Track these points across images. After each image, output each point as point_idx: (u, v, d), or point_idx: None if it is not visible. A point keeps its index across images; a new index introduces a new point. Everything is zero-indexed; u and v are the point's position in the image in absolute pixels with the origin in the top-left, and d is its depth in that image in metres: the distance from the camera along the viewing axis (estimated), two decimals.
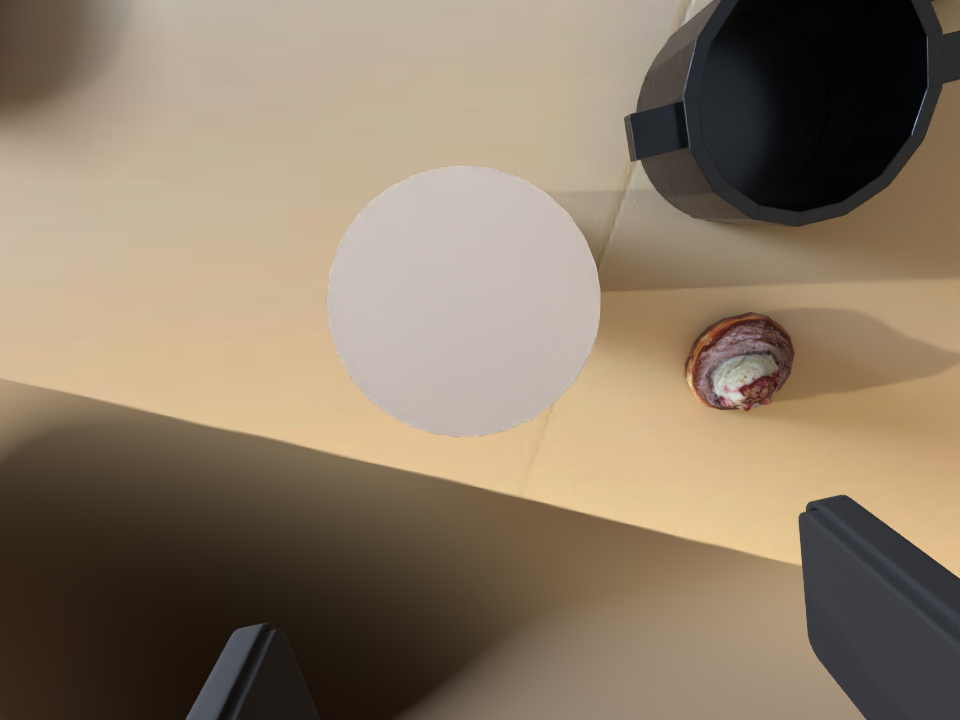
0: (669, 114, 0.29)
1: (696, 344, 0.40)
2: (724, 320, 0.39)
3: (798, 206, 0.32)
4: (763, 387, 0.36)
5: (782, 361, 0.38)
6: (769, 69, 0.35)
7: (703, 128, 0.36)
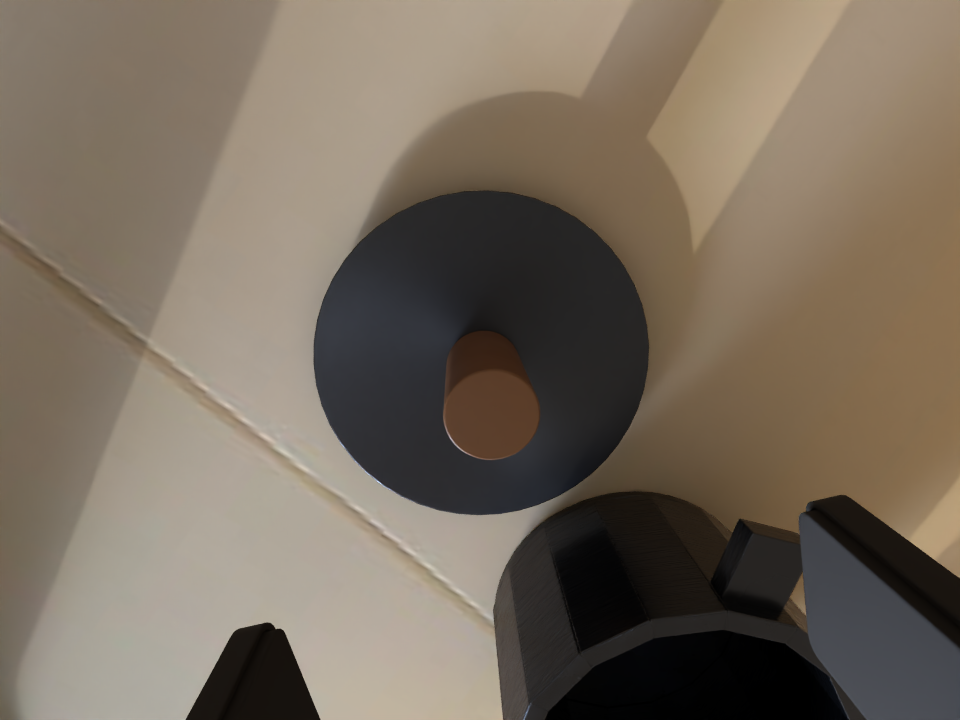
0: None
1: None
2: None
3: None
4: None
5: None
6: None
7: None
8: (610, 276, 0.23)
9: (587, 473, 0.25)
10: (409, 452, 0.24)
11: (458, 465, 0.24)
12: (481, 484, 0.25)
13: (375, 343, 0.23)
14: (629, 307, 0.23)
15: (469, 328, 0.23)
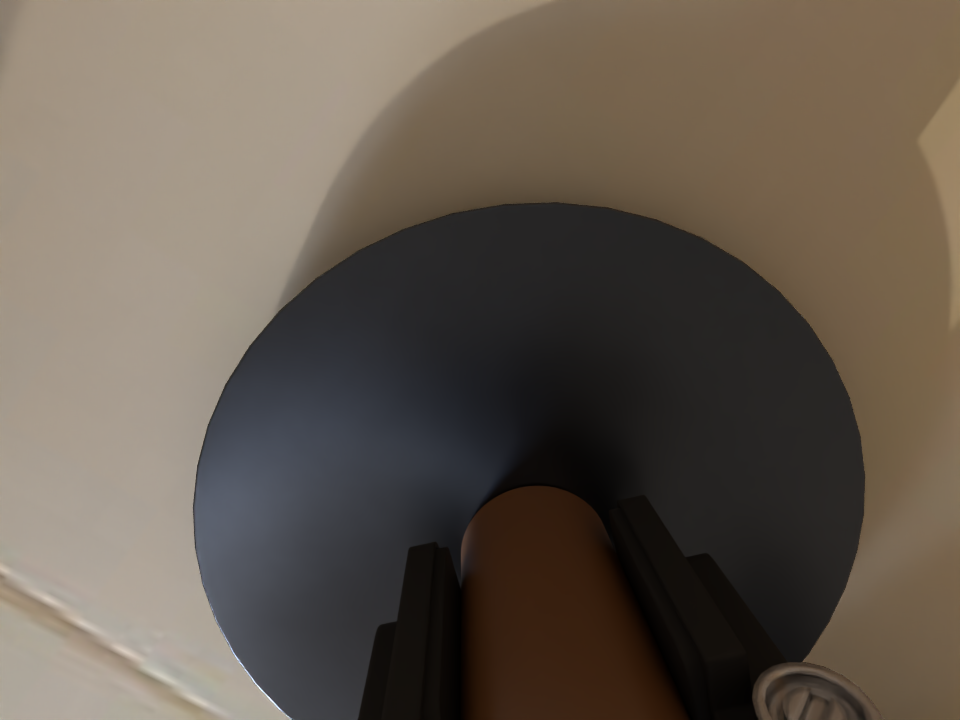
0: None
1: None
2: None
3: None
4: None
5: None
6: None
7: None
8: (803, 381, 0.11)
9: None
10: None
11: None
12: None
13: (318, 509, 0.11)
14: (834, 441, 0.11)
15: (509, 480, 0.11)
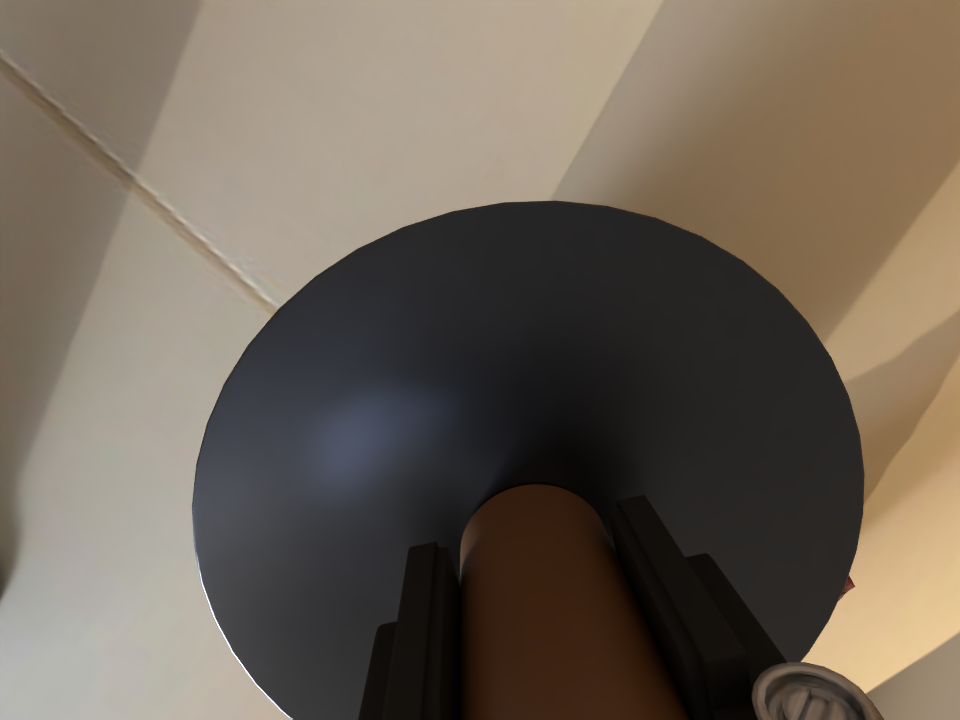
0: None
1: None
2: None
3: None
4: None
5: None
6: None
7: None
8: (802, 379, 0.11)
9: None
10: None
11: None
12: None
13: (317, 507, 0.11)
14: (834, 439, 0.11)
15: (508, 478, 0.11)
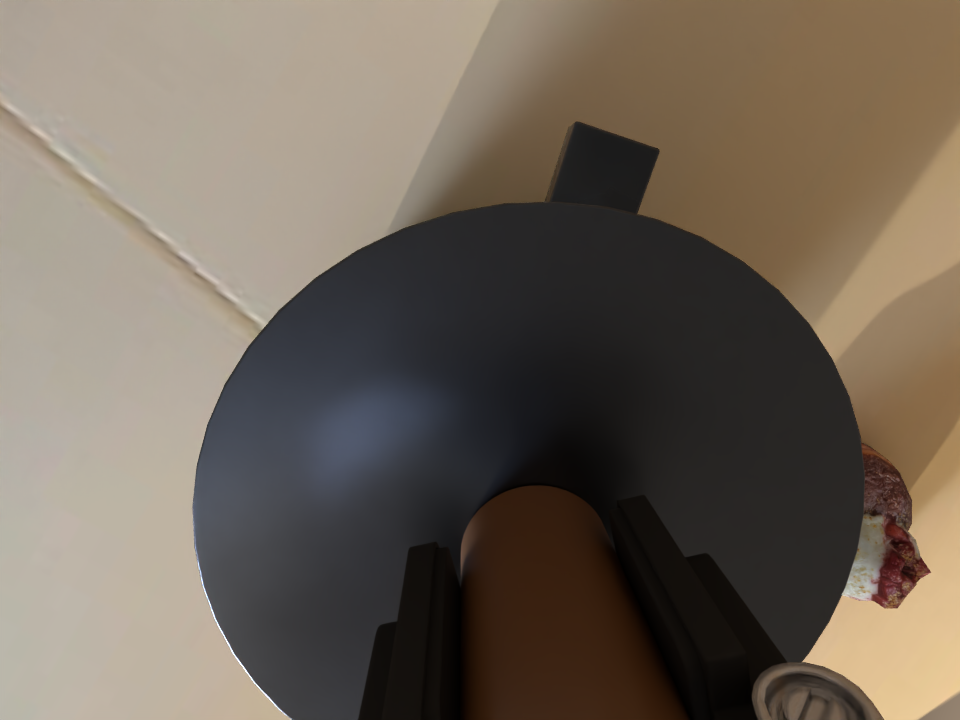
0: None
1: None
2: None
3: None
4: (899, 586, 0.22)
5: (877, 500, 0.23)
6: None
7: None
8: (803, 380, 0.11)
9: None
10: None
11: None
12: None
13: (317, 508, 0.11)
14: (834, 440, 0.11)
15: (509, 479, 0.11)
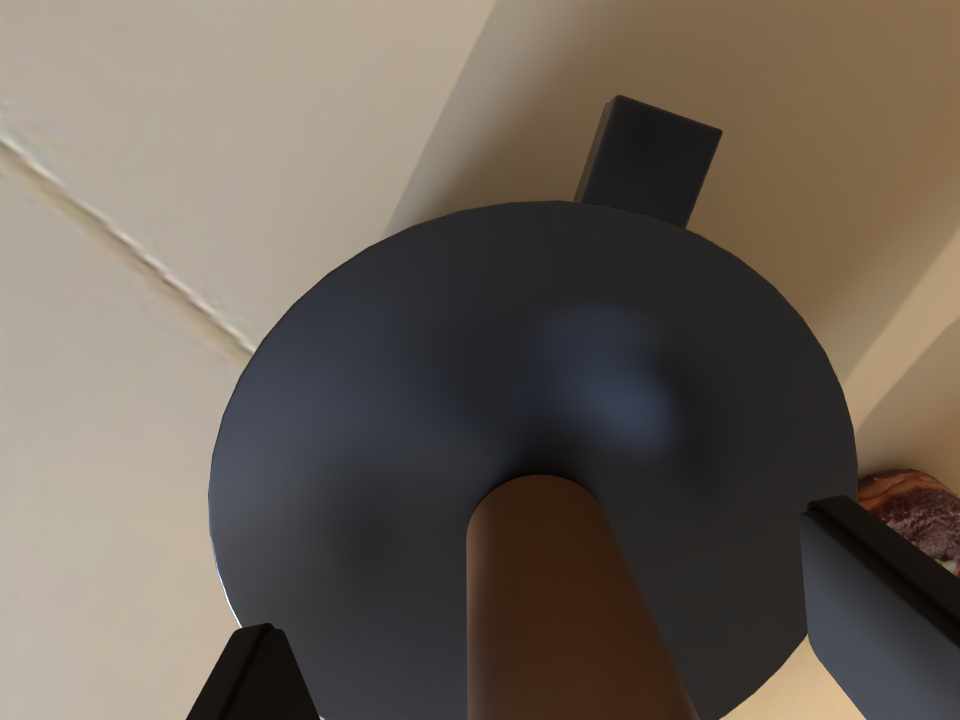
0: None
1: None
2: None
3: None
4: None
5: (949, 543, 0.20)
6: None
7: None
8: (797, 373, 0.11)
9: (719, 714, 0.14)
10: (395, 682, 0.13)
11: None
12: None
13: (328, 496, 0.12)
14: (828, 431, 0.12)
15: (513, 469, 0.12)
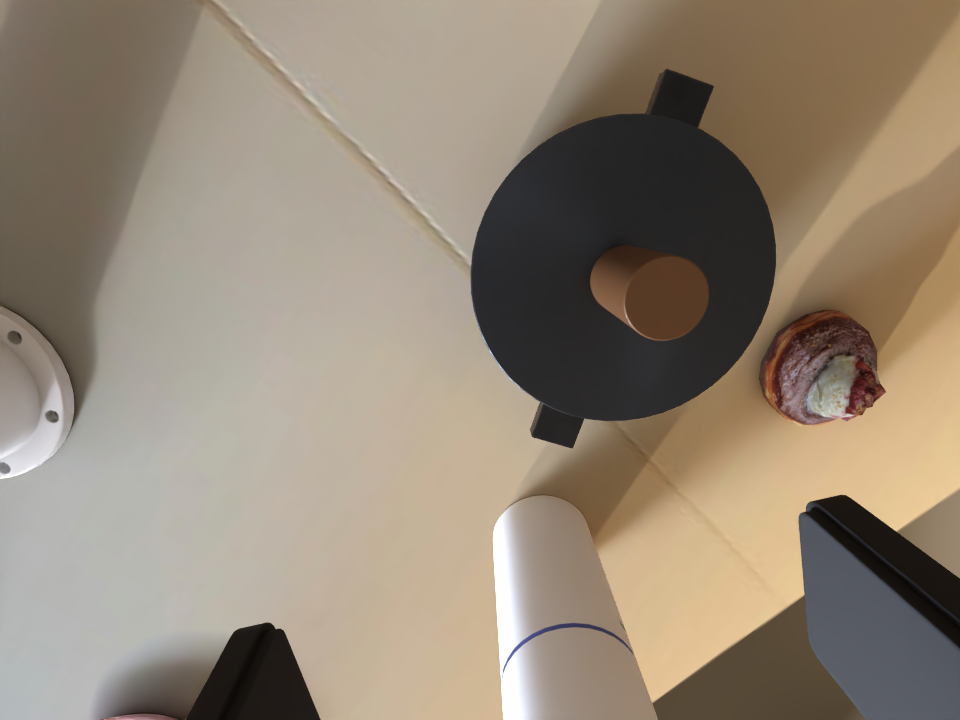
0: None
1: (767, 400, 0.36)
2: (765, 367, 0.35)
3: None
4: (863, 397, 0.32)
5: (851, 345, 0.33)
6: None
7: None
8: (746, 197, 0.25)
9: (709, 384, 0.27)
10: (549, 359, 0.27)
11: (592, 372, 0.27)
12: (611, 392, 0.27)
13: (528, 255, 0.25)
14: (761, 227, 0.25)
15: (613, 242, 0.25)
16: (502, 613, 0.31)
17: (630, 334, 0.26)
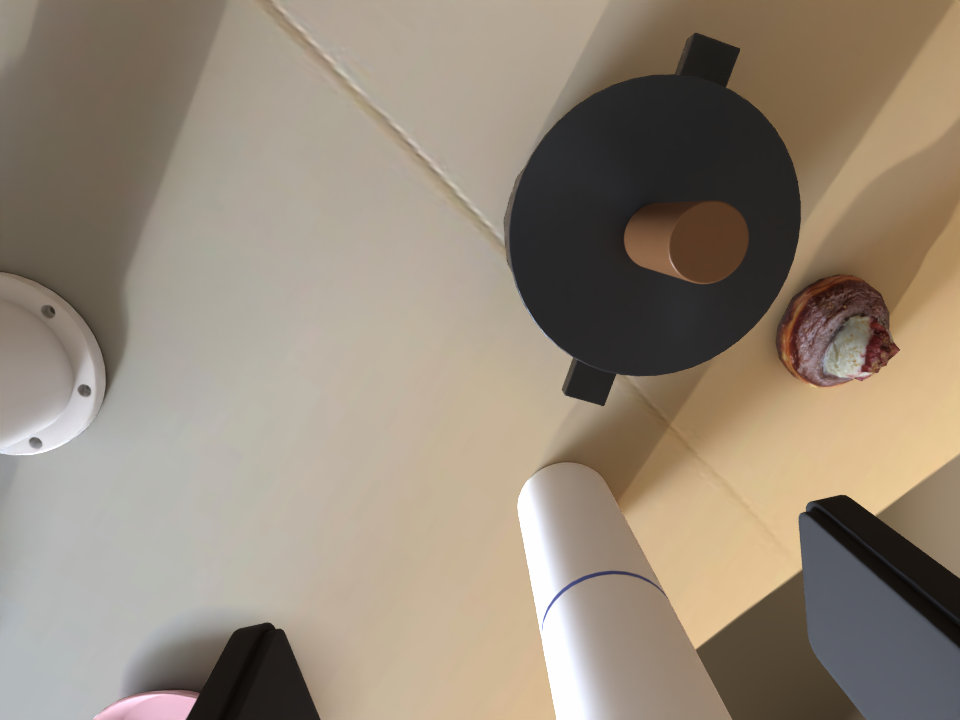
0: None
1: (784, 363, 0.37)
2: (782, 331, 0.36)
3: None
4: (878, 355, 0.33)
5: (865, 307, 0.34)
6: None
7: None
8: (772, 154, 0.26)
9: (737, 338, 0.28)
10: (584, 315, 0.28)
11: (625, 328, 0.28)
12: (643, 347, 0.28)
13: (564, 213, 0.26)
14: (786, 183, 0.26)
15: (646, 200, 0.26)
16: (537, 569, 0.32)
17: (662, 290, 0.27)
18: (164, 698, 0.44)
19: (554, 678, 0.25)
